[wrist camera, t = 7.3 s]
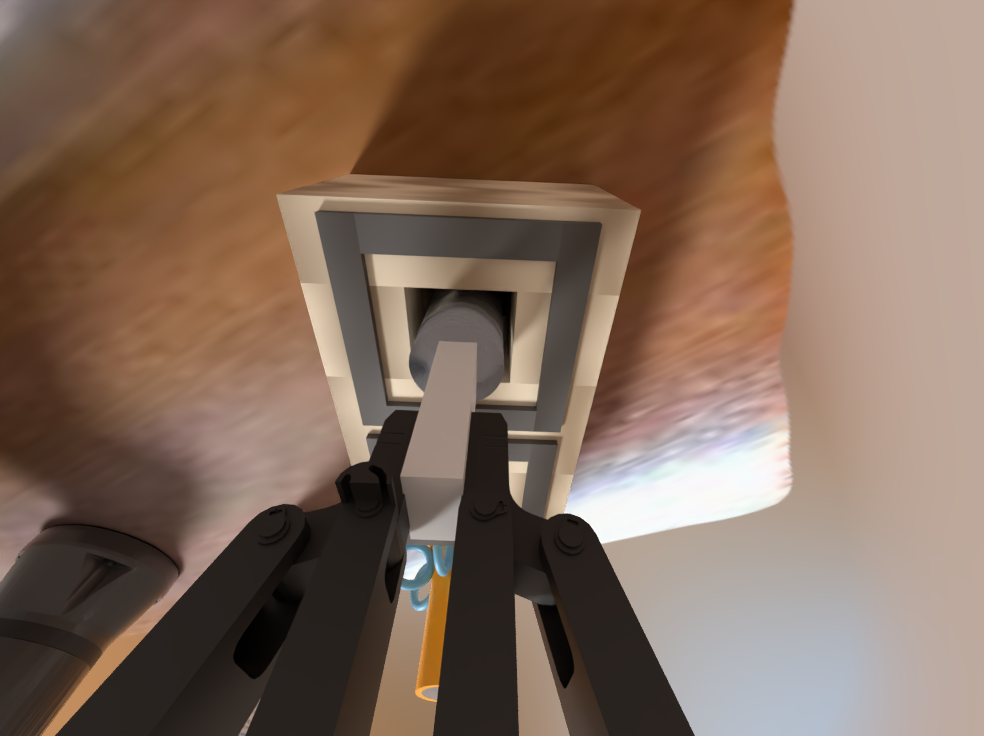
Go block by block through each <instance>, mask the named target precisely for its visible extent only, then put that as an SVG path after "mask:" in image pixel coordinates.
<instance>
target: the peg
mask: <svg viewBox="0 0 984 736" xmlns="http://www.w3.org/2000/svg"><path fill="white" fill-rule="evenodd" d="M439 341H450V342H474V343H477V378H476V402H478V401H480V400H482V399H485V398H486V397H488V396H489V395H490V394H492V393H493V392H494V391H495V390H496V389H497V387H498V386H499V384H500V382H501V380H502V377H503V374H504V348H503V315H502V291H489V290H464V289H439V288H435V291H434V293H433V296H432V298H431V301H430V304H429V306H428V309H427V311H426V314H425V316H424V319H423V321H422V324H421V326H420V329H419V331H418V334H417V336H416V339H415V341H414V344H413V346H412V349H411V352H410V355H409V369H410V373H411V376H412V378H413V380H414V382H415V383H416V385H417V386H418V387H419V388H420V389H421V390H422V391H423V392H425V388H426V385H427V381H428V378H429V374H430V371H431V367H432V364H433V360H434V357H435V353H436V350H437V346H438V343H439Z"/></svg>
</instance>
